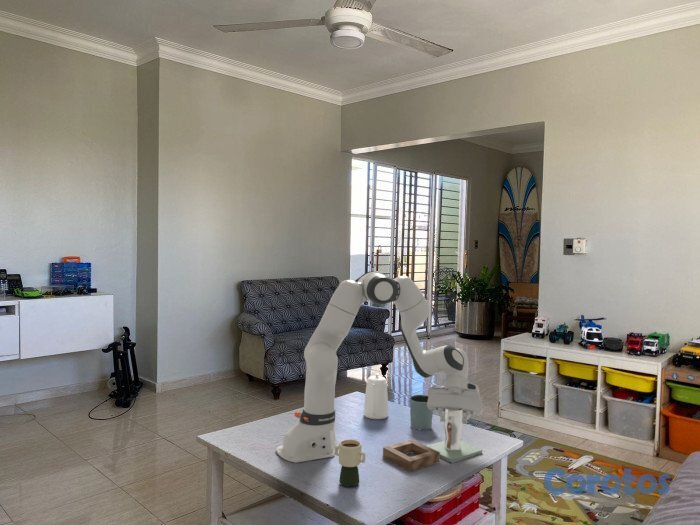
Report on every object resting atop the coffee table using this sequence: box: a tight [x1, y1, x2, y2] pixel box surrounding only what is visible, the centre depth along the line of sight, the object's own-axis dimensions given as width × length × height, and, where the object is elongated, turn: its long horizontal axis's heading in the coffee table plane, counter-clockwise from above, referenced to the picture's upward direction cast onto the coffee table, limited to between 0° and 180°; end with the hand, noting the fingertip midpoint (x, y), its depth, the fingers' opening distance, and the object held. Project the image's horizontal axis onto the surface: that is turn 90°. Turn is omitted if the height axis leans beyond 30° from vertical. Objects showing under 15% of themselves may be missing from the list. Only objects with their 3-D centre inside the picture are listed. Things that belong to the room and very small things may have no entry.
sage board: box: [426, 439, 483, 464], centre depth 193 cm, size 16×14×1 cm
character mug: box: [334, 438, 366, 487], centre depth 165 cm, size 11×7×13 cm, turn 59°
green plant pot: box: [409, 394, 434, 431], centre depth 217 cm, size 10×10×12 cm
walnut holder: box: [382, 438, 441, 473], centre depth 184 cm, size 14×14×4 cm
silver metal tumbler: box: [443, 406, 464, 451], centre depth 192 cm, size 7×7×15 cm
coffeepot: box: [363, 372, 389, 420], centre depth 228 cm, size 11×25×19 cm, turn 168°
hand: (453, 422), depth 191 cm, fingers closed on silver metal tumbler, 7 cm apart
